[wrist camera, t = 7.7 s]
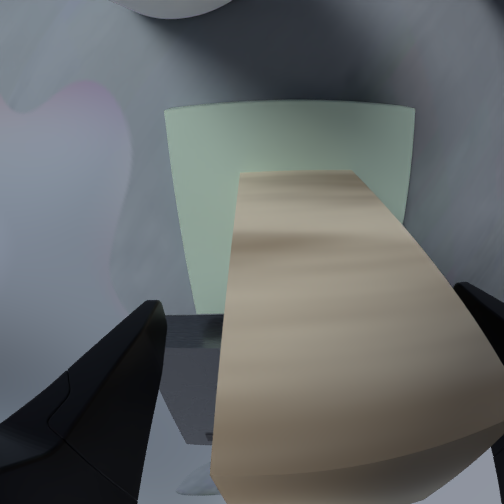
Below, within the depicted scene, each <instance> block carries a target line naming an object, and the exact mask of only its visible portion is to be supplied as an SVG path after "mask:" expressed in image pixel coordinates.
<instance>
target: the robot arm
mask: <svg viewBox="0 0 504 504" xmlns="http://www.w3.org/2000/svg"><path fill="white" fill-rule="evenodd" d="M453 289H454V291H455V292H456V294H457V295H458V296H459V298H460V299H461V301H462V302H463V303H464V305H465V306H466V308H467V309H468V311H469V312H470V313H471V315H472V316H473V318H474V319H475V321H476V322H477V324H478V325H479V327H480V328H481V330H482V332H483V333H484V335H485V336H486V338H487V339H488V341H489V343H490V344H491V346H492V347H493V349H494V351H495V352H496V354H497V356H498V357H499V359H500V361H501V362H502V364H503V366H504V303H503V302H501V301H499V300H498V299H496V298H494V297H493V296H491V295H489V294H487V293H486V292H484V291H482V290H480V289H479V288H477V287H475V286H473V285H472V284H470V283H468V282H459V283H456V284H455V285H454V288H453ZM166 336H167V320H166V317H165V313H164V310H163V306H162V303H161V302H160V301H159V300H147V301H145V302H144V303H143V304H141V305H140V306H139V307H138V308H137V309H136V310H134V311H133V312H132V313H131V314H130V315H129V316H127V317H126V318H125V319H124V320H123V321H122V322H120V323H119V324H118V325H117V326H116V327H115V328H114V329H112V330H111V331H110V332H109V333H108V334H107V335H106V336H104V337H103V338H102V339H101V340H100V341H99V342H98V343H97V344H95V345H94V346H93V347H92V348H91V349H90V350H89V351H88V352H86V353H85V354H84V355H83V356H82V357H81V358H80V359H79V360H77V362H75V363H74V364H73V365H72V366H71V367H70V368H69V369H68V371H65V372H64V373H63V374H62V375H61V376H60V377H59V378H57V379H56V380H55V381H54V382H53V383H52V384H50V386H48V387H47V388H46V389H45V390H43V391H42V392H41V393H40V394H38V395H37V396H36V397H35V398H33V399H32V400H31V401H30V402H28V403H27V404H26V405H25V406H23V407H22V408H20V409H19V410H18V411H17V412H15V413H14V414H12V415H11V416H10V417H9V418H7V419H6V420H5V421H3V422H2V423H0V504H137V503H138V502H137V500H138V495H139V489H140V483H141V477H142V472H143V466H144V460H145V455H146V450H147V444H148V439H149V434H150V429H151V424H152V419H153V414H154V410H155V405H156V400H157V396H158V390H159V387H160V382H161V377H162V371H163V363H164V353H165V344H166ZM491 449H492V453H493V456H494V457H493V458H494V463H495V468H496V473H497V477H498V484H499V489H500V496H501V502H502V504H504V434H503V435H502V436H501V437H500V438H499V439H498V440H497V441H496V442H495V443H494V444H493V445H492V446H491Z"/></svg>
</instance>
